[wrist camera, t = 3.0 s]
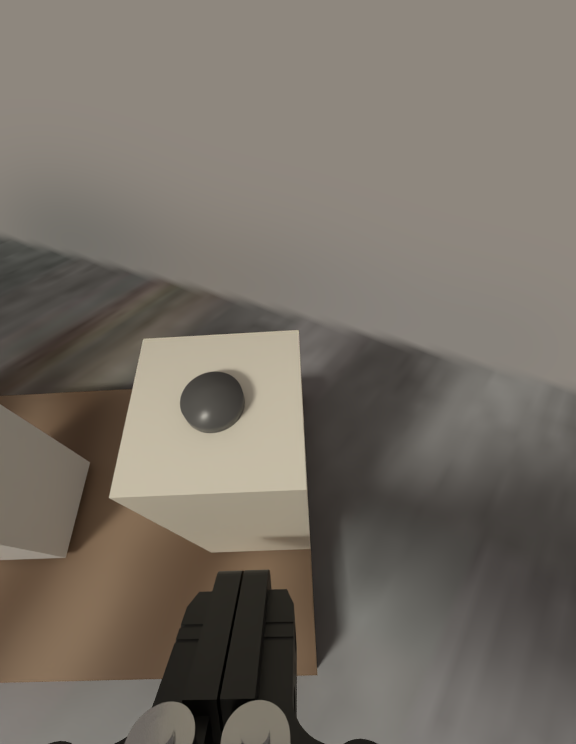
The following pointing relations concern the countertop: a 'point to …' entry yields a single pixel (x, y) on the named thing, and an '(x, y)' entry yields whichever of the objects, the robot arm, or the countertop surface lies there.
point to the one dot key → (218, 441)
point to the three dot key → (36, 491)
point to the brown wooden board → (117, 569)
